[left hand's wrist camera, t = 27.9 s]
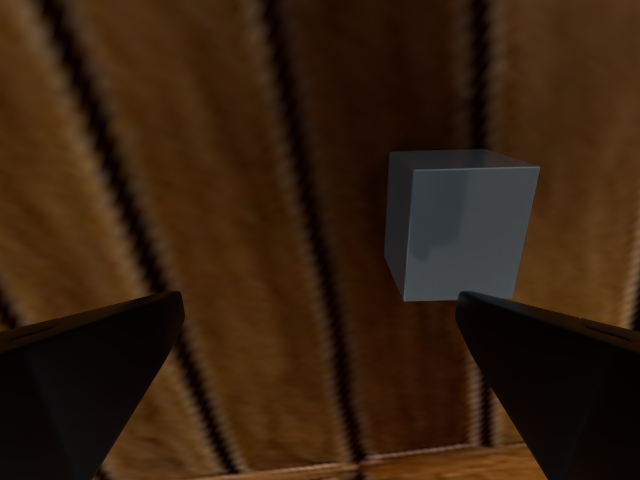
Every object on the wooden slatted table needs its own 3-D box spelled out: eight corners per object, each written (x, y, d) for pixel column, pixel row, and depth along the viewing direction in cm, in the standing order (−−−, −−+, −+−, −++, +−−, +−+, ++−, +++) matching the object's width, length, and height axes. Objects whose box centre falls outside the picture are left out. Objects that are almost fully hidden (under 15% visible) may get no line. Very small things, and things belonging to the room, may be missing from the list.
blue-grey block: (383, 256, 18) (403, 302, 14) (389, 151, 16) (413, 169, 12) (469, 254, 18) (512, 299, 14) (485, 148, 16) (541, 166, 12)
